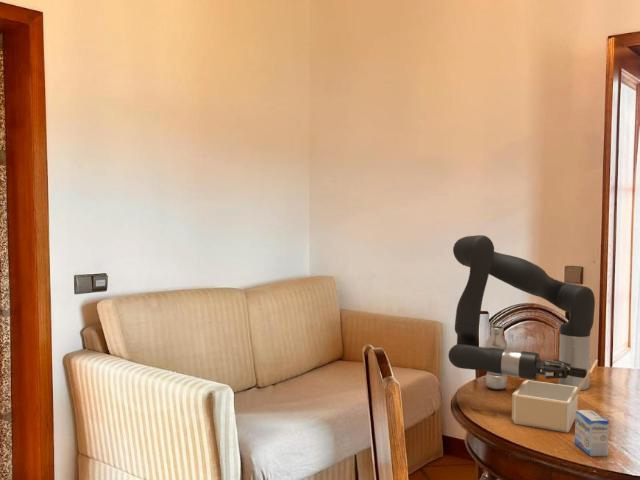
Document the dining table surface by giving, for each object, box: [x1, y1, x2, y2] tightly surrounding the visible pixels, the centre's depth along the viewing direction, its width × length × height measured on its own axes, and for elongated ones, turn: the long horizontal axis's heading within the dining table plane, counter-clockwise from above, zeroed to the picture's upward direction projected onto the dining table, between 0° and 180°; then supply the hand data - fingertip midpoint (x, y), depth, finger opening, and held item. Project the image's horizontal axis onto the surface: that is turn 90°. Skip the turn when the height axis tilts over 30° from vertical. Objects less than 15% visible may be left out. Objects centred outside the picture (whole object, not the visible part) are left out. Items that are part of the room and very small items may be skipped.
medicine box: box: [574, 409, 610, 457], centre depth 153 cm, size 8×4×9 cm, turn 5°
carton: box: [511, 379, 579, 433], centre depth 175 cm, size 17×15×8 cm
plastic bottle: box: [485, 325, 508, 390], centre depth 203 cm, size 6×7×20 cm
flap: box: [571, 358, 599, 401], centre depth 169 cm, size 15×9×1 cm
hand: (586, 373), depth 169 cm, fingers closed
